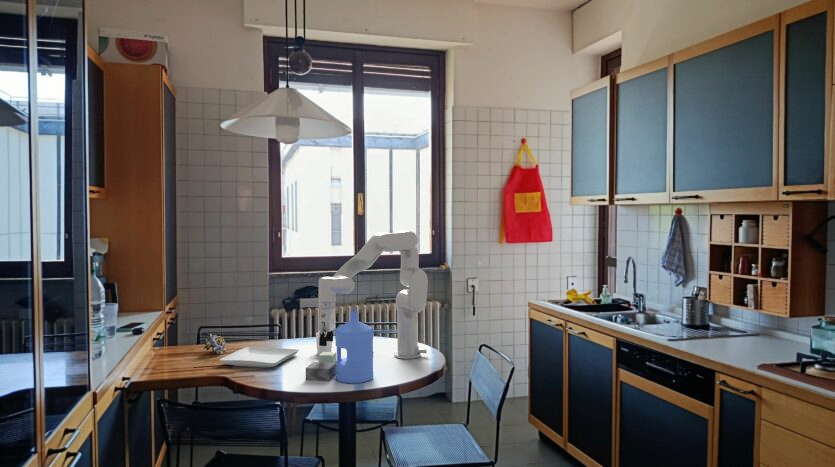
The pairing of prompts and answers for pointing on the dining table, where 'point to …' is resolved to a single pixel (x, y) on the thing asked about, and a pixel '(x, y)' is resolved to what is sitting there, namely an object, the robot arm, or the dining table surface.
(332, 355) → the sage cube
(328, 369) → the block
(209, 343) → the passion flower
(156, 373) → the dining table surface
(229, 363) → the square plate
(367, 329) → the water jug
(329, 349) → the white cup
